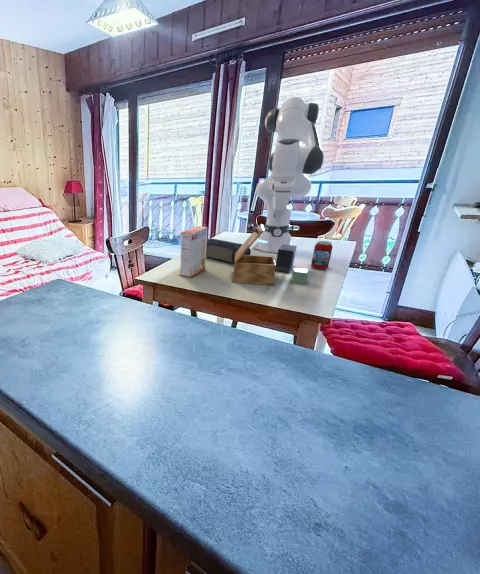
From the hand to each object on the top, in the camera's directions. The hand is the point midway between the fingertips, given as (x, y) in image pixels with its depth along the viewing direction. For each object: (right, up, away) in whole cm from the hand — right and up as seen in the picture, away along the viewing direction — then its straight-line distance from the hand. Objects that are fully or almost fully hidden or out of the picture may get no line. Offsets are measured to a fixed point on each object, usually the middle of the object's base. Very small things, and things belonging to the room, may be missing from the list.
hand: (276, 219), depth 133 cm
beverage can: (+31, -19, +20) cm, 41 cm away
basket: (-4, -24, +12) cm, 27 cm away
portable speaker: (-7, -13, +38) cm, 41 cm away
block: (+13, -25, +6) cm, 29 cm away
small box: (+15, -19, +21) cm, 32 cm away
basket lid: (-8, -9, +7) cm, 14 cm away
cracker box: (-27, -21, +23) cm, 41 cm away
